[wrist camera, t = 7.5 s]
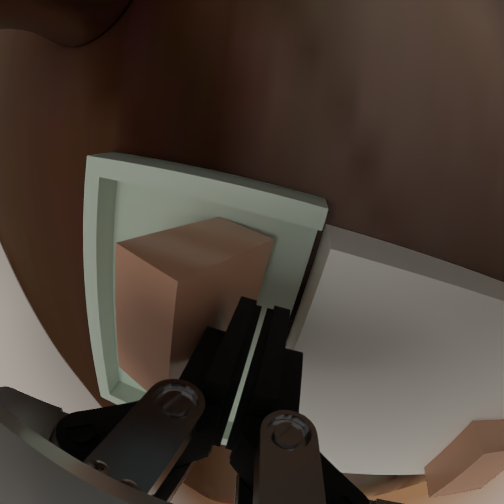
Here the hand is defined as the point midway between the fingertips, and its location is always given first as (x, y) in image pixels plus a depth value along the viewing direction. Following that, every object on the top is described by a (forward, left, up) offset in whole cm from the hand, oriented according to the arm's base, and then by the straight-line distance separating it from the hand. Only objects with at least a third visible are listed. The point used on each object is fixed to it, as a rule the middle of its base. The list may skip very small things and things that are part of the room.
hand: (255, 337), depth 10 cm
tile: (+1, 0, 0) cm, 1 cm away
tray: (+4, +3, -4) cm, 6 cm away
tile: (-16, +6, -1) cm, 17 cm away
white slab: (-11, +3, -4) cm, 12 cm away
